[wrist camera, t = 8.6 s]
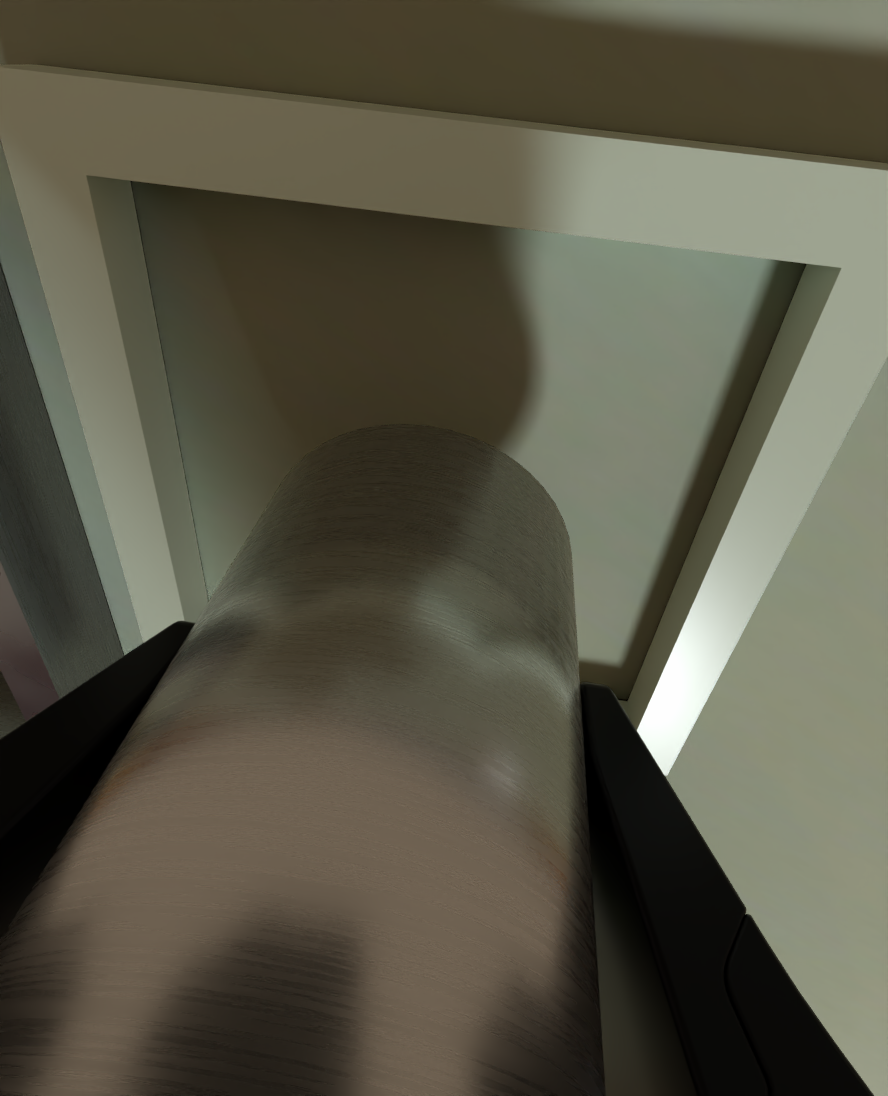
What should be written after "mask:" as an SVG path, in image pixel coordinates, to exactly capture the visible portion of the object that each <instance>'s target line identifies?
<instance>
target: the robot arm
mask: <svg viewBox="0 0 888 1096" xmlns="http://www.w3.org/2000/svg"><path fill="white" fill-rule="evenodd" d="M194 625H195V623H194V622H187V621H177V622H175V623H173V624H171V625H170V626H168V627H167V628H165V629H164V630H162V631H161V632H159V633H158V634H156V635H155V636H153V637H152V638H150V639H149V640H147V641H146V642H144V643H143V644H141V645H140V646H138V647H137V648H135V649H134V650H132V651H131V652H129V653H128V654H126V655H125V656H123V657H122V658H120V659H119V660H117V661H116V662H114V663H113V664H111V665H110V666H108V667H107V668H105V669H104V670H102V671H101V672H99V673H98V674H96V675H95V676H93V677H92V678H90V679H89V680H87V681H86V682H84V683H83V684H81V685H80V686H78V687H77V688H75V689H74V690H72V691H71V692H69V693H68V694H66V695H65V696H63V697H62V698H60V699H59V700H57V701H56V702H54V703H53V704H51V705H50V706H48V707H47V708H45V709H44V710H42V711H41V712H39V713H38V714H36V715H35V716H33V717H32V718H30V719H29V720H27V721H26V722H24V723H23V724H21V725H20V726H18V727H17V728H15V729H14V730H12V731H11V732H9V733H8V734H6V735H5V736H3V737H2V738H0V940H1V938H2V937H3V935H4V934H5V932H6V930H7V929H8V927H9V925H10V924H11V922H12V921H13V919H14V917H15V916H16V914H17V912H18V911H19V909H20V908H21V906H22V904H23V903H24V901H25V899H26V898H27V896H28V895H29V893H30V891H31V890H32V888H33V886H34V885H35V883H36V882H37V880H38V878H39V877H40V875H41V873H42V872H43V870H44V868H45V867H46V865H47V864H48V862H49V860H50V859H51V857H52V855H53V854H54V852H55V851H56V849H57V847H58V846H59V844H60V842H61V841H62V839H63V838H64V836H65V834H66V833H67V831H68V829H69V828H70V826H71V825H72V823H73V821H74V820H75V818H76V816H77V815H78V813H79V812H80V810H81V808H82V807H83V805H84V803H85V802H86V800H87V799H88V797H89V795H90V794H91V792H92V790H93V789H94V787H95V786H96V784H97V782H98V781H99V779H100V777H101V776H102V774H103V773H104V771H105V769H106V768H107V766H108V764H109V763H110V761H111V760H112V758H113V756H114V755H115V753H116V751H117V750H118V748H119V747H120V745H121V743H122V742H123V740H124V738H125V737H126V735H127V733H128V732H129V730H130V729H131V727H132V725H133V724H134V722H135V720H136V719H137V717H138V716H139V714H140V712H141V711H142V709H143V707H144V706H145V704H146V703H147V701H148V699H149V698H150V696H151V694H152V693H153V691H154V690H155V688H156V686H157V685H158V683H159V681H160V680H161V678H162V677H163V675H164V673H165V672H166V670H167V668H168V667H169V665H170V664H171V662H172V660H173V659H174V657H175V655H176V654H177V652H178V651H179V649H180V647H181V646H182V644H183V642H184V641H185V639H186V638H187V636H188V634H189V633H190V631H191V629H192V628H193V626H194ZM580 693H581V709H582V725H583V741H584V757H585V773H586V789H587V805H588V821H589V837H590V853H591V868H592V884H593V900H594V916H595V932H596V948H597V964H598V980H599V996H600V1012H601V1028H602V1044H603V1060H604V1075H605V1091H606V1096H874V1095H873V1093H872V1092H871V1091H870V1089H869V1088H868V1087H867V1085H866V1084H865V1083H864V1081H863V1080H862V1078H861V1077H860V1076H859V1074H858V1073H857V1072H856V1070H855V1069H854V1068H853V1066H852V1065H851V1063H850V1062H849V1061H848V1059H847V1058H846V1057H845V1055H844V1054H843V1053H842V1051H841V1050H840V1048H839V1047H838V1046H837V1044H836V1043H835V1042H834V1040H833V1039H832V1037H831V1036H830V1035H829V1033H828V1032H827V1030H826V1029H825V1028H824V1026H823V1025H822V1023H821V1022H820V1020H819V1019H818V1018H817V1016H816V1015H815V1013H814V1012H813V1010H812V1009H811V1008H810V1006H809V1005H808V1003H807V1002H806V1001H805V999H804V998H803V996H802V995H801V993H800V992H799V991H798V989H797V988H796V986H795V984H794V983H793V981H792V980H791V978H790V977H789V975H788V974H787V972H786V970H785V969H784V967H783V966H782V964H781V963H780V961H779V960H778V958H777V957H776V955H775V953H774V952H773V950H772V949H771V947H770V946H769V944H768V943H767V941H766V939H765V938H764V936H763V934H762V933H761V931H760V930H759V928H758V926H757V925H756V923H755V921H754V920H753V918H752V916H751V915H749V914H746V907H745V905H744V904H743V902H742V901H741V899H740V897H739V896H738V894H737V892H736V891H735V889H734V888H733V886H732V884H731V883H730V881H729V879H728V878H727V876H726V875H725V873H724V871H723V870H722V868H721V866H720V865H719V863H718V862H717V860H716V858H715V857H714V855H713V854H712V852H711V850H710V849H709V847H708V845H707V844H706V842H705V841H704V839H703V837H702V836H701V834H700V832H699V831H698V829H697V828H696V826H695V824H694V823H693V821H692V819H691V818H690V816H689V815H688V813H687V811H686V810H685V808H684V806H683V805H682V803H681V802H680V800H679V798H678V797H677V795H676V793H675V792H674V790H673V789H672V787H671V785H670V784H669V782H668V780H667V779H666V777H665V776H664V774H663V772H662V771H661V769H660V767H659V766H658V764H657V763H656V761H655V759H654V758H653V756H652V754H651V753H650V751H649V750H648V748H647V746H646V745H645V743H644V741H643V740H642V738H641V737H640V735H639V733H638V732H637V730H636V728H635V727H634V725H633V724H632V722H631V720H630V719H629V717H628V716H627V714H626V712H625V711H624V709H623V707H622V706H621V704H620V703H619V701H618V699H617V698H616V696H615V694H614V693H613V691H612V690H611V689H610V688H609V687H608V686H606V685H602V684H595V683H589V682H583V683H581V684H580ZM745 914H746V915H745Z"/></svg>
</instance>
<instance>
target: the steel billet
mask: <svg viewBox="0 0 888 1096" xmlns="http://www.w3.org/2000/svg"><path fill="white" fill-rule="evenodd" d="M0 1096H606V1091H605V1075H604V1060H603V1044H602V1028H601V1012H600V996H599V980H598V964H597V948H596V932H595V916H594V900H593V884H592V868H591V853H590V837H589V821H588V805H587V789H586V773H585V757H584V741H583V725H582V709H581V693H580V677H579V661H578V645H577V630H576V614H575V598H574V582H573V566H572V552H571V546H570V539H569V535H568V532H567V529H566V526H565V523H564V520H563V518H562V516H561V514H560V512H559V510H558V508H557V506H556V504H555V502H554V501H553V500H552V498H551V497H550V495H549V494H548V493H547V491H546V490H545V488H544V487H543V486H542V485H541V484H540V483H539V482H538V481H537V480H536V479H535V478H534V477H533V476H532V474H531V473H530V472H528V471H527V470H526V469H525V468H523V467H522V466H521V465H520V464H519V463H517V462H516V461H515V460H514V459H512V458H511V457H509V456H507V455H506V454H504V453H502V452H501V451H499V450H498V449H496V448H494V447H492V446H490V445H488V444H486V443H484V442H482V441H479V440H477V439H475V438H473V437H470V436H467V435H464V434H461V433H457V432H454V431H451V430H446V429H441V428H436V427H431V426H423V425H410V424H397V425H381V426H375V427H369V428H363V429H359V430H356V431H353V432H350V433H346V434H343V435H340V436H338V437H336V438H334V439H332V440H330V441H328V442H326V443H323V444H322V445H320V446H319V447H317V448H316V449H314V450H313V451H311V452H310V453H308V454H307V455H306V456H305V457H304V458H303V459H302V460H300V461H299V462H298V463H297V464H296V465H295V466H294V467H293V468H292V470H291V471H290V472H289V473H288V475H287V476H286V477H285V479H284V480H283V481H282V483H281V485H280V486H279V488H278V490H277V491H276V493H275V494H274V496H273V498H272V499H271V501H270V503H269V504H268V506H267V507H266V509H265V511H264V512H263V514H262V516H261V517H260V519H259V520H258V522H257V524H256V525H255V527H254V529H253V530H252V532H251V533H250V535H249V537H248V538H247V540H246V542H245V543H244V545H243V546H242V548H241V550H240V551H239V553H238V555H237V556H236V558H235V559H234V561H233V563H232V564H231V566H230V568H229V569H228V571H227V572H226V574H225V576H224V577H223V579H222V581H221V582H220V584H219V585H218V587H217V589H216V590H215V592H214V594H213V595H212V597H211V598H210V600H209V602H208V603H207V605H206V607H205V608H204V610H203V611H202V613H201V615H200V616H199V618H198V620H197V621H196V623H195V625H194V626H193V628H192V629H191V631H190V633H189V634H188V636H187V638H186V639H185V641H184V642H183V644H182V646H181V647H180V649H179V651H178V652H177V654H176V655H175V657H174V659H173V660H172V662H171V664H170V665H169V667H168V668H167V670H166V672H165V673H164V675H163V677H162V678H161V680H160V681H159V683H158V685H157V686H156V688H155V690H154V691H153V693H152V694H151V696H150V698H149V699H148V701H147V703H146V704H145V706H144V707H143V709H142V711H141V712H140V714H139V716H138V717H137V719H136V720H135V722H134V724H133V725H132V727H131V729H130V730H129V732H128V733H127V735H126V737H125V738H124V740H123V742H122V743H121V745H120V747H119V748H118V750H117V751H116V753H115V755H114V756H113V758H112V760H111V761H110V763H109V764H108V766H107V768H106V769H105V771H104V773H103V774H102V776H101V777H100V779H99V781H98V782H97V784H96V786H95V787H94V789H93V790H92V792H91V794H90V795H89V797H88V799H87V800H86V802H85V803H84V805H83V807H82V808H81V810H80V812H79V813H78V815H77V816H76V818H75V820H74V821H73V823H72V825H71V826H70V828H69V829H68V831H67V833H66V834H65V836H64V838H63V839H62V841H61V842H60V844H59V846H58V847H57V849H56V851H55V852H54V854H53V855H52V857H51V859H50V860H49V862H48V864H47V865H46V867H45V868H44V870H43V872H42V873H41V875H40V877H39V878H38V880H37V882H36V883H35V885H34V886H33V888H32V890H31V891H30V893H29V895H28V896H27V898H26V899H25V901H24V903H23V904H22V906H21V908H20V909H19V911H18V912H17V914H16V916H15V917H14V919H13V921H12V922H11V924H10V925H9V927H8V929H7V930H6V932H5V934H4V935H3V937H2V938H1V940H0Z"/></svg>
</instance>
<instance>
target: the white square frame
mask: <svg viewBox="0 0 888 1096" xmlns="http://www.w3.org/2000/svg"><path fill="white" fill-rule="evenodd" d="M0 139H1V143H2V146H3V150H4V153H5V157H6V161H7V164H8V168H9V171H10V175H11V178H12V182H13V185H14V189H15V192H16V196H17V199H18V203H19V206H20V210H21V213H22V217H23V220H24V224H25V227H26V231H27V234H28V238H29V242H30V245H31V249H32V252H33V256H34V259H35V263H36V266H37V270H38V273H39V277H40V280H41V284H42V287H43V291H44V294H45V298H46V301H47V305H48V308H49V312H50V315H51V319H52V323H53V326H54V330H55V333H56V337H57V340H58V344H59V347H60V351H61V354H62V358H63V361H64V365H65V368H66V372H67V375H68V379H69V382H70V386H71V389H72V393H73V396H74V400H75V404H76V407H77V411H78V414H79V418H80V421H81V425H82V428H83V432H84V435H85V439H86V442H87V446H88V449H89V453H90V456H91V460H92V463H93V467H94V470H95V474H96V477H97V481H98V485H99V488H100V492H101V495H102V499H103V502H104V506H105V509H106V513H107V516H108V520H109V523H110V527H111V530H112V534H113V537H114V541H115V544H116V548H117V551H118V555H119V558H120V562H121V565H122V569H123V573H124V576H125V580H126V583H127V587H128V590H129V594H130V597H131V601H132V604H133V608H134V611H135V615H136V618H137V622H138V625H139V629H140V632H141V636H142V639H143V643H144V642H146V641H147V640H149V639H150V638H152V637H153V636H155V635H156V634H158V633H159V632H161V631H162V630H164V629H165V628H167V627H168V626H170V625H171V624H173V623H175V622H177V621H187V622H194V623H196V621H197V620H198V618H199V616H200V615H201V613H202V611H203V610H204V608H205V607H206V605H207V603H208V598H207V592H206V587H205V581H204V576H203V571H202V565H201V560H200V554H199V549H198V543H197V538H196V533H195V527H194V522H193V516H192V511H191V506H190V500H189V495H188V489H187V484H186V479H185V473H184V468H183V462H182V457H181V452H180V446H179V441H178V435H177V430H176V425H175V419H174V414H173V408H172V403H171V398H170V392H169V387H168V381H167V376H166V371H165V365H164V360H163V354H162V349H161V344H160V338H159V333H158V327H157V322H156V317H155V311H154V306H153V300H152V295H151V290H150V284H149V279H148V273H147V268H146V263H145V257H144V252H143V246H142V241H141V236H140V230H139V225H138V219H137V214H136V209H135V203H134V198H133V192H132V187H131V182H130V181H137V182H146V183H154V184H162V185H170V186H178V187H186V188H195V189H203V190H211V191H219V192H227V193H235V194H243V195H252V196H260V197H268V198H276V199H284V200H292V201H300V202H309V203H317V204H325V205H333V206H341V207H349V208H357V209H366V210H374V211H382V212H390V213H398V214H406V215H414V216H423V217H431V218H439V219H447V220H455V221H463V222H471V223H480V224H488V225H496V226H504V227H512V228H520V229H528V230H537V231H545V232H553V233H561V234H569V235H577V236H586V237H594V238H602V239H610V240H618V241H626V242H634V243H643V244H651V245H659V246H667V247H675V248H683V249H691V250H700V251H708V252H716V253H724V254H732V255H740V256H748V257H757V258H765V259H773V260H781V261H789V262H797V263H805V264H806V267H805V269H804V272H803V274H802V277H801V279H800V281H799V284H798V286H797V289H796V291H795V294H794V296H793V299H792V301H791V303H790V306H789V308H788V311H787V313H786V316H785V318H784V321H783V323H782V325H781V328H780V330H779V333H778V335H777V338H776V340H775V342H774V345H773V347H772V350H771V352H770V355H769V357H768V360H767V362H766V364H765V367H764V369H763V372H762V374H761V377H760V379H759V382H758V384H757V386H756V389H755V391H754V394H753V396H752V399H751V401H750V404H749V406H748V408H747V411H746V413H745V416H744V418H743V421H742V423H741V425H740V428H739V430H738V433H737V435H736V438H735V440H734V443H733V445H732V447H731V450H730V452H729V455H728V457H727V460H726V462H725V465H724V467H723V469H722V472H721V474H720V477H719V479H718V482H717V484H716V487H715V489H714V491H713V494H712V496H711V499H710V501H709V504H708V506H707V508H706V511H705V513H704V516H703V518H702V521H701V523H700V526H699V528H698V530H697V533H696V535H695V538H694V540H693V543H692V545H691V548H690V550H689V552H688V555H687V557H686V560H685V562H684V565H683V567H682V570H681V572H680V574H679V577H678V579H677V582H676V584H675V587H674V589H673V591H672V594H671V596H670V599H669V601H668V604H667V606H666V609H665V611H664V613H663V616H662V618H661V621H660V623H659V626H658V628H657V631H656V633H655V635H654V638H653V640H652V643H651V645H650V648H649V650H648V653H647V655H646V657H645V660H644V662H643V665H642V667H641V670H640V672H639V674H638V677H637V679H636V682H635V684H634V687H633V689H632V692H631V694H630V696H629V699H628V701H622V700H618V701H619V703H620V704H621V706H622V707H623V709H624V711H625V712H626V714H627V716H628V717H629V719H630V720H631V722H632V724H633V725H634V727H635V728H636V730H637V732H638V733H639V735H640V737H641V738H642V740H643V741H644V743H645V745H646V746H647V748H648V750H649V751H650V753H651V754H652V756H653V758H654V759H655V761H656V763H657V764H658V766H659V767H660V769H661V771H662V772H663V774H664V775H668V773H669V771H670V769H671V767H672V765H673V763H674V761H675V760H676V758H677V756H678V754H679V752H680V750H681V748H682V746H683V744H684V742H685V741H686V739H687V737H688V735H689V733H690V731H691V729H692V727H693V725H694V723H695V722H696V720H697V718H698V716H699V714H700V712H701V710H702V708H703V706H704V704H705V703H706V701H707V699H708V697H709V695H710V693H711V691H712V689H713V687H714V686H715V684H716V682H717V680H718V678H719V676H720V674H721V672H722V670H723V668H724V667H725V665H726V663H727V661H728V659H729V657H730V655H731V653H732V651H733V649H734V648H735V646H736V644H737V642H738V640H739V638H740V636H741V634H742V632H743V630H744V629H745V627H746V625H747V623H748V621H749V619H750V617H751V615H752V613H753V611H754V610H755V608H756V606H757V604H758V602H759V600H760V598H761V596H762V594H763V592H764V591H765V589H766V587H767V585H768V583H769V581H770V579H771V577H772V575H773V573H774V572H775V570H776V568H777V566H778V564H779V562H780V560H781V558H782V556H783V554H784V553H785V551H786V549H787V547H788V545H789V543H790V541H791V539H792V537H793V535H794V534H795V532H796V530H797V528H798V526H799V524H800V522H801V520H802V518H803V516H804V515H805V513H806V511H807V509H808V507H809V505H810V503H811V501H812V499H813V497H814V496H815V494H816V492H817V490H818V488H819V486H820V484H821V482H822V480H823V478H824V477H825V475H826V473H827V471H828V469H829V467H830V465H831V463H832V461H833V459H834V458H835V456H836V454H837V452H838V450H839V448H840V446H841V444H842V442H843V440H844V439H845V437H846V435H847V433H848V431H849V429H850V427H851V425H852V423H853V421H854V420H855V418H856V416H857V414H858V412H859V410H860V408H861V406H862V404H863V402H864V401H865V399H866V397H867V395H868V393H869V391H870V389H871V387H872V385H873V383H874V382H875V380H876V378H877V376H878V374H879V372H880V370H881V368H882V366H883V364H884V363H885V361H886V359H887V357H888V163H881V162H873V161H864V160H855V159H847V158H838V157H830V156H821V155H812V154H804V153H795V152H786V151H778V150H769V149H761V148H752V147H743V146H735V145H726V144H717V143H709V142H700V141H692V140H683V139H674V138H666V137H657V136H648V135H640V134H631V133H623V132H614V131H605V130H597V129H588V128H579V127H571V126H562V125H554V124H545V123H536V122H528V121H519V120H510V119H502V118H493V117H485V116H476V115H467V114H459V113H450V112H442V111H433V110H424V109H416V108H407V107H398V106H390V105H381V104H373V103H364V102H355V101H347V100H338V99H329V98H321V97H312V96H304V95H295V94H286V93H278V92H269V91H260V90H252V89H243V88H235V87H226V86H217V85H209V84H200V83H191V82H183V81H174V80H166V79H157V78H148V77H140V76H131V75H122V74H114V73H105V72H97V71H88V70H79V69H71V68H62V67H53V66H45V65H36V64H11V65H0Z"/></svg>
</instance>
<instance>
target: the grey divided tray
mask: <svg viewBox="0 0 888 1096" xmlns="http://www.w3.org/2000/svg"><path fill="white" fill-rule="evenodd" d="M123 656H124V655H123V652H122V648H121V645H120V642H119V639H118V636H117V633H116V630H115V626H114V623H113V620H112V617H111V614H110V611H109V607H108V604H107V601H106V598H105V595H104V592H103V588H102V585H101V582H100V579H99V576H98V573H97V569H96V566H95V563H94V560H93V557H92V554H91V551H90V547H89V544H88V541H87V538H86V535H85V532H84V528H83V525H82V522H81V519H80V516H79V513H78V509H77V506H76V503H75V500H74V497H73V494H72V490H71V487H70V484H69V481H68V478H67V475H66V472H65V468H64V465H63V462H62V459H61V456H60V453H59V449H58V446H57V443H56V440H55V437H54V434H53V430H52V427H51V424H50V421H49V418H48V415H47V411H46V408H45V405H44V402H43V399H42V396H41V392H40V389H39V386H38V383H37V380H36V377H35V374H34V370H33V367H32V364H31V361H30V358H29V355H28V351H27V348H26V345H25V342H24V339H23V336H22V332H21V329H20V326H19V323H18V320H17V317H16V313H15V310H14V307H13V304H12V301H11V298H10V295H9V291H8V288H7V285H6V282H5V279H4V276H3V272H2V269H1V266H0V670H1V672H0V738H2V737H3V736H5V735H6V734H8V733H9V732H11V731H12V730H14V729H15V728H17V727H18V726H20V725H21V724H23V723H24V722H26V721H27V720H29V719H30V718H32V717H33V716H35V715H36V714H38V713H39V712H41V711H42V710H44V709H45V708H47V707H48V706H50V705H51V704H53V703H54V702H56V701H57V700H59V699H60V698H62V697H63V696H65V695H66V694H68V693H69V692H71V691H72V690H74V689H75V688H77V687H78V686H80V685H81V684H83V683H84V682H86V681H87V680H89V679H90V678H92V677H93V676H95V675H96V674H98V673H99V672H101V671H102V670H104V669H105V668H107V667H108V666H110V665H111V664H113V663H114V662H116V661H117V660H119V659H120V658H122V657H123Z"/></svg>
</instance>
